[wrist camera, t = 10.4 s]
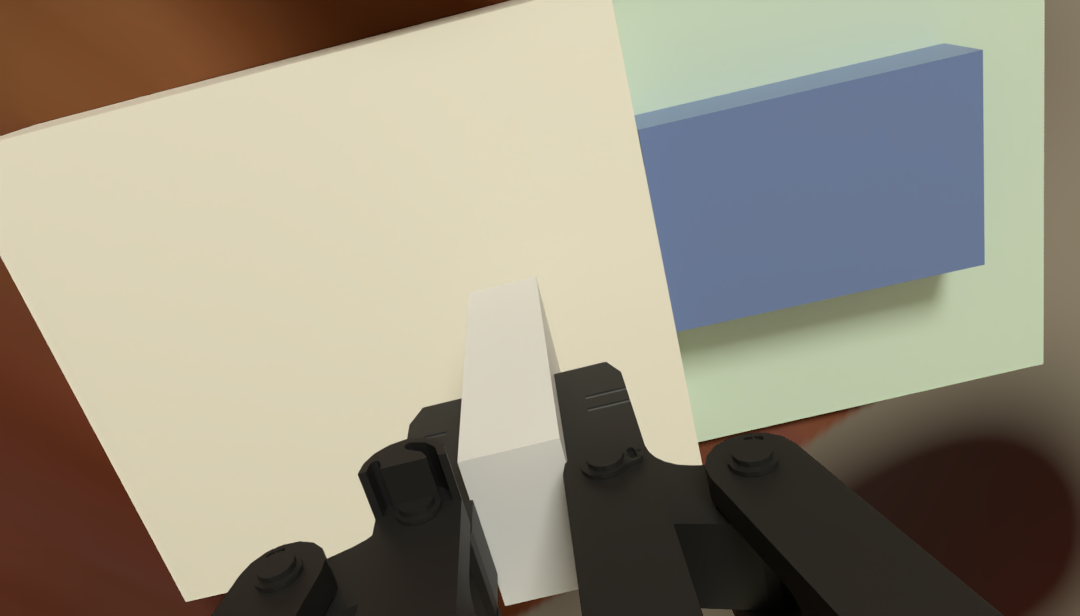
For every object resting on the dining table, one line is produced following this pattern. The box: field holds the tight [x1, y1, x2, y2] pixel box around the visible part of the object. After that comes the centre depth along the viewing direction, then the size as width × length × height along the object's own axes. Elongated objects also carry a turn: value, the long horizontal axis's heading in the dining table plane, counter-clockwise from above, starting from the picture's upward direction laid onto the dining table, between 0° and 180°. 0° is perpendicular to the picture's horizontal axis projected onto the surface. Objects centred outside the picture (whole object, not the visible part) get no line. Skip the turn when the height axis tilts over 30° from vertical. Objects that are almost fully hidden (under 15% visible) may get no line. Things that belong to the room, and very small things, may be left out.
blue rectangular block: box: [634, 43, 985, 332], centre depth 23 cm, size 9×6×2 cm, turn 103°
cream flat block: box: [0, 0, 702, 602], centre depth 23 cm, size 16×14×4 cm
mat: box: [612, 0, 1044, 442], centre depth 24 cm, size 12×16×1 cm
